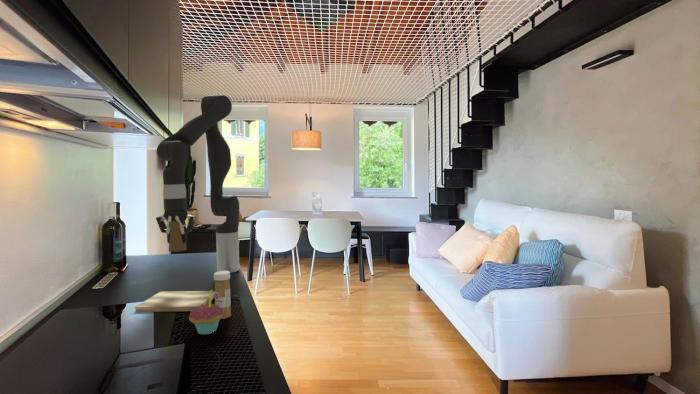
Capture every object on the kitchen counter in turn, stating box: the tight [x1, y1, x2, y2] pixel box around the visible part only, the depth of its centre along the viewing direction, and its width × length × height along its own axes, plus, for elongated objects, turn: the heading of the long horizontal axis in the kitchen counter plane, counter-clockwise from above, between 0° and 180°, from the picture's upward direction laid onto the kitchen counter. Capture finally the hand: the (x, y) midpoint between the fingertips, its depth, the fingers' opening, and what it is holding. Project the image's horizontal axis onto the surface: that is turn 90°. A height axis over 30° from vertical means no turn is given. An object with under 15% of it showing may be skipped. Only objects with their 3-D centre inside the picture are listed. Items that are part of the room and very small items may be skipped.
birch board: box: [134, 290, 215, 313], centre depth 122 cm, size 15×20×2 cm
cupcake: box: [188, 288, 223, 335], centre depth 99 cm, size 9×8×12 cm
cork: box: [168, 221, 188, 253], centre depth 134 cm, size 6×6×11 cm
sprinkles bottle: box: [213, 271, 232, 320], centre depth 109 cm, size 5×5×13 cm
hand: (177, 243), depth 134 cm, fingers closed on cork, 4 cm apart
